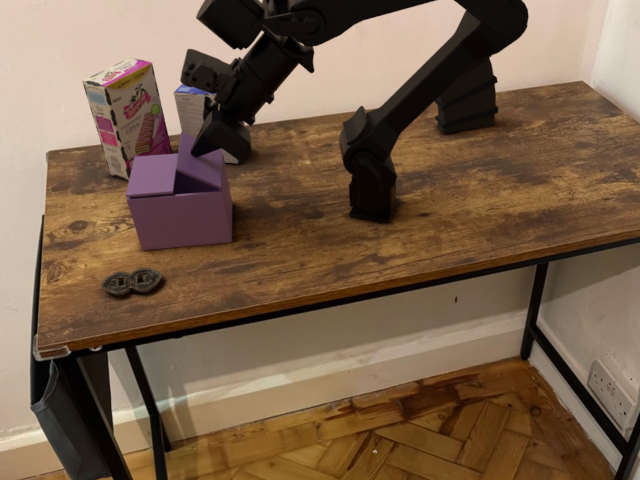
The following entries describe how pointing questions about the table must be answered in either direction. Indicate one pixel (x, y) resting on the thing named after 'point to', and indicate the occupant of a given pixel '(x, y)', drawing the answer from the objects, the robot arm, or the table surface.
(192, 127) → the ink cartridge box
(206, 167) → the flap
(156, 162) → the box
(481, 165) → the table surface
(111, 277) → the corroded twin loop
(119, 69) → the candy bar box
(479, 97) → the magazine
